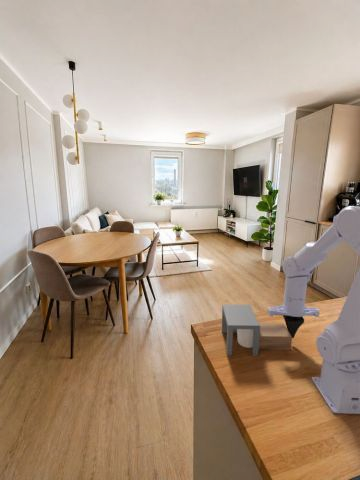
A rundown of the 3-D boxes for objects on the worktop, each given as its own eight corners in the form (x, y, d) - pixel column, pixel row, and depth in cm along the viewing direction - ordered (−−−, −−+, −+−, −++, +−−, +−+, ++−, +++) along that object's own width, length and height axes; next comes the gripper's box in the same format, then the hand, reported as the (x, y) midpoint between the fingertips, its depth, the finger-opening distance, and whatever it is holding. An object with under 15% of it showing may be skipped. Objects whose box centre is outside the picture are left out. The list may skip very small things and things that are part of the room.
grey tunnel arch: (258, 355, 68) (260, 325, 66) (227, 355, 68) (228, 325, 66) (248, 331, 79) (249, 304, 77) (221, 330, 80) (222, 304, 78)
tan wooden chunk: (290, 349, 70) (292, 336, 69) (258, 349, 70) (259, 336, 69) (281, 335, 77) (283, 323, 76) (252, 334, 77) (253, 322, 76)
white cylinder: (255, 335, 77) (256, 316, 75) (260, 349, 70) (261, 329, 69) (234, 334, 78) (235, 315, 76) (236, 348, 71) (237, 327, 69)
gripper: (312, 290, 73) (308, 328, 76) (265, 289, 74) (263, 328, 77) (325, 300, 66) (319, 342, 69) (273, 300, 67) (270, 342, 70)
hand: (290, 336), depth 72 cm, fingers closed
